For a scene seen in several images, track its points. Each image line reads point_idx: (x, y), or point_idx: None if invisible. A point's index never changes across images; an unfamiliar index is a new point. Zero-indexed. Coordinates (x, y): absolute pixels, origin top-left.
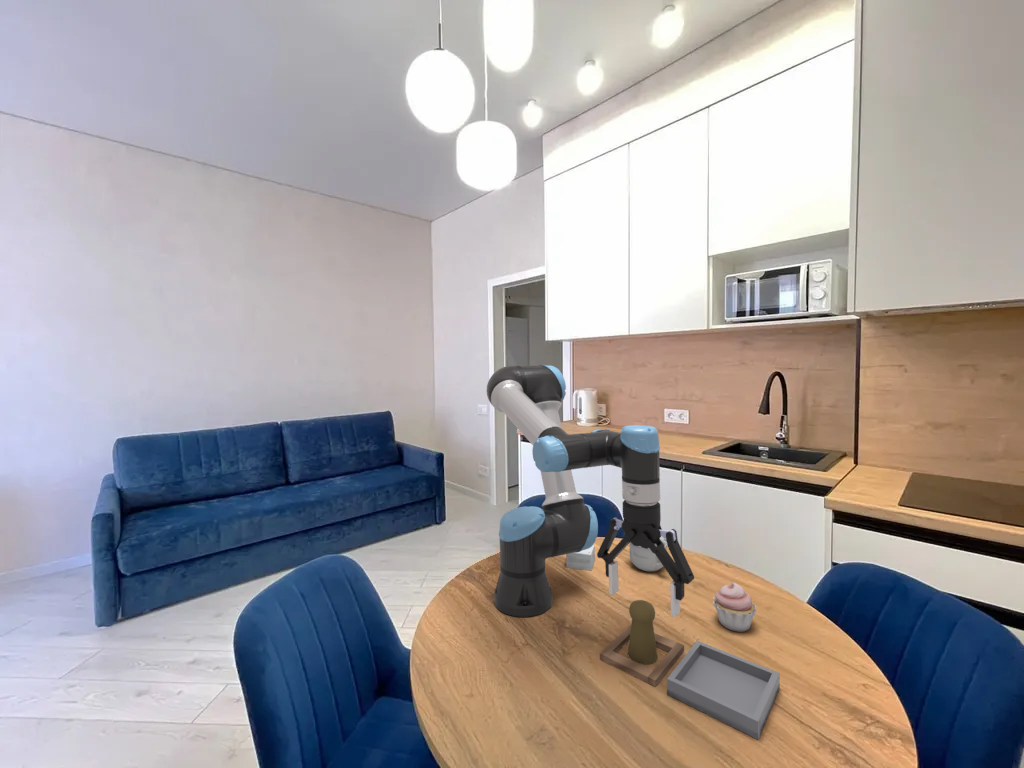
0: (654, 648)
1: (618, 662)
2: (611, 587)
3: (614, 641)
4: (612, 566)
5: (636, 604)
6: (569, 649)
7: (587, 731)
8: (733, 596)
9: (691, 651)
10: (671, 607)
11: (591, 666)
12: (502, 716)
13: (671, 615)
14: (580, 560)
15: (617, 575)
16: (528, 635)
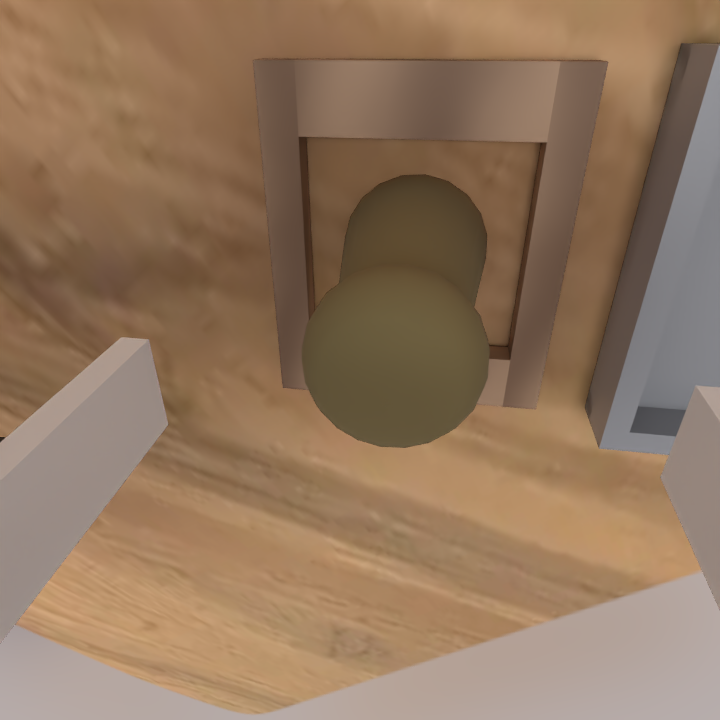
0: (480, 274)
1: None
2: (131, 464)
3: (279, 282)
4: (5, 622)
5: (359, 420)
6: (171, 386)
7: (426, 603)
8: None
9: (688, 198)
10: (692, 535)
11: (290, 419)
12: (248, 638)
13: (666, 481)
14: None
15: (66, 436)
16: (16, 399)
